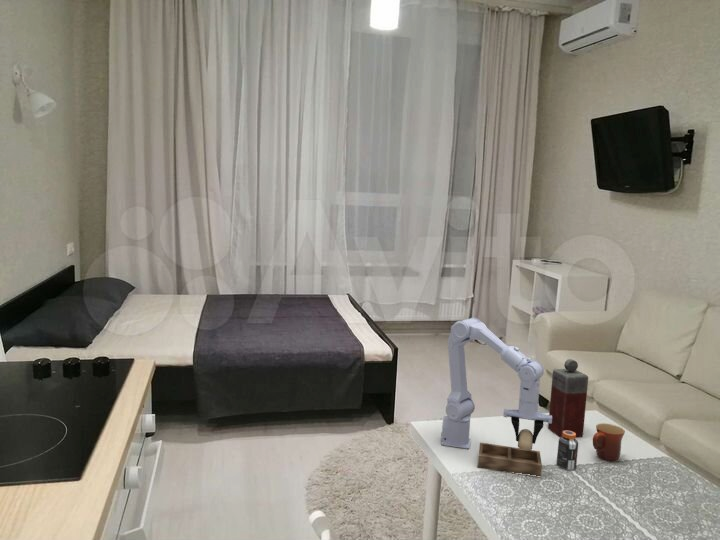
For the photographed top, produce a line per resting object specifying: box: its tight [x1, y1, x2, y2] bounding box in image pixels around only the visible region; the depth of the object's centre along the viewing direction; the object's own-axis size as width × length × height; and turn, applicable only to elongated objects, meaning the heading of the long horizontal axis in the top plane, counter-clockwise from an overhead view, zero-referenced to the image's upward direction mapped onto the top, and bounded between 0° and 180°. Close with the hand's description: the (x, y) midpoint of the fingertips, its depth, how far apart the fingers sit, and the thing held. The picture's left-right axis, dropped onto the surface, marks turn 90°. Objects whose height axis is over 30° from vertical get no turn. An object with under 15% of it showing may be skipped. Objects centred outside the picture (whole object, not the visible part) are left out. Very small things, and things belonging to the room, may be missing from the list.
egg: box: [517, 428, 534, 450], centre depth 167 cm, size 4×4×6 cm
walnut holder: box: [477, 442, 543, 477], centre depth 169 cm, size 19×10×4 cm, turn 75°
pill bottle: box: [556, 430, 579, 471], centre depth 170 cm, size 6×6×11 cm
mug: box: [592, 422, 626, 463], centre depth 176 cm, size 12×9×10 cm
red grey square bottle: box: [547, 358, 589, 439], centre depth 196 cm, size 9×11×28 cm
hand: (525, 441), depth 167 cm, fingers closed on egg, 4 cm apart
